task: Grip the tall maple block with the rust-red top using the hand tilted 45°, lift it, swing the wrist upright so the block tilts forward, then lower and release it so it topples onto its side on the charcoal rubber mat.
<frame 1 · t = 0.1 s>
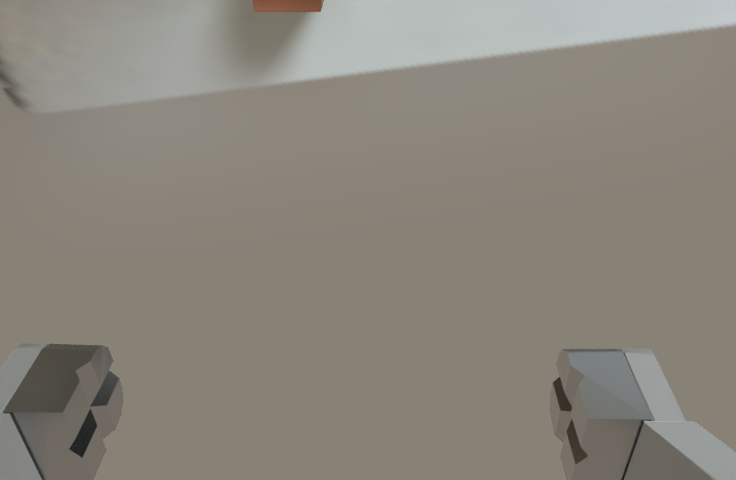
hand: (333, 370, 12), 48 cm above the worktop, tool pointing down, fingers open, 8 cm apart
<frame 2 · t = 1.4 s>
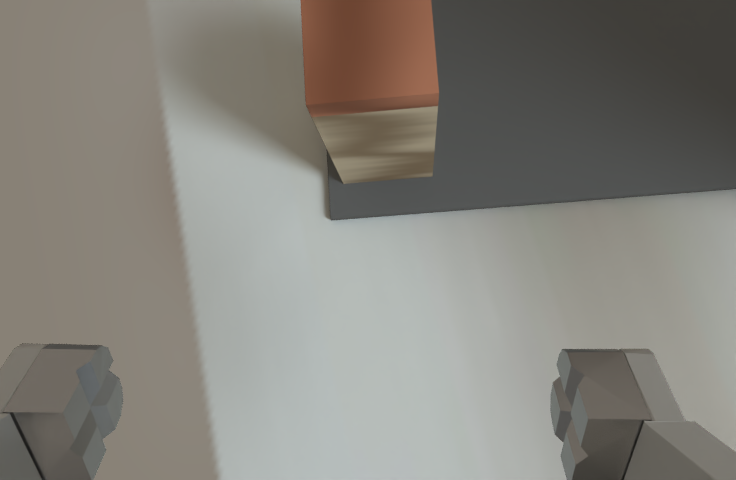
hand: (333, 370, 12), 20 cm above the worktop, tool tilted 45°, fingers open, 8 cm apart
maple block: (384, 137, 33), resting on charcoal mat
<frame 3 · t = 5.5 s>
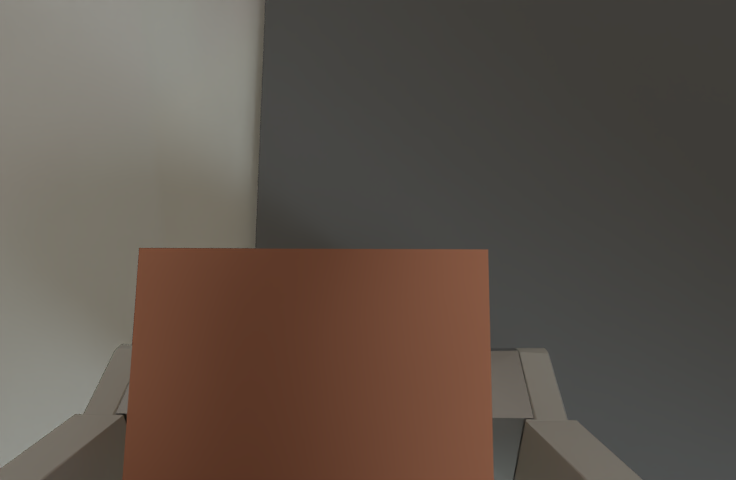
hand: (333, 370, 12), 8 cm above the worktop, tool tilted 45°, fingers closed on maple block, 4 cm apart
charcoal mat: (612, 160, 20), on the worktop
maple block: (352, 388, 19), resting on charcoal mat, touching gripper
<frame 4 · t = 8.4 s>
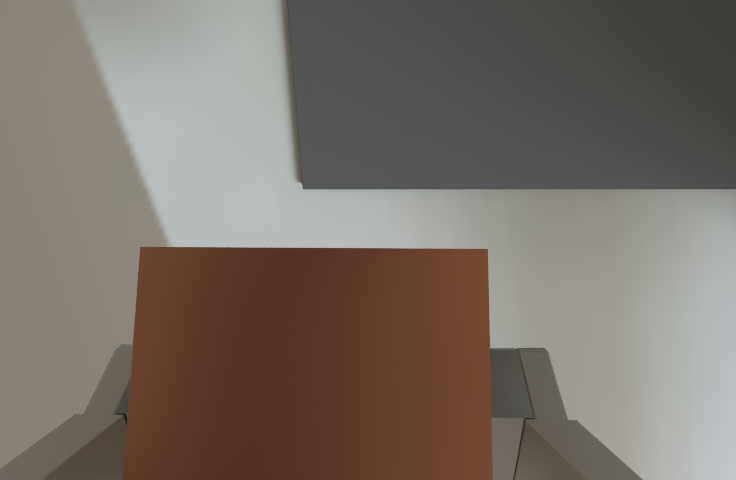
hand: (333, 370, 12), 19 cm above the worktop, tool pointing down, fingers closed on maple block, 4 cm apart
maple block: (353, 387, 19), point 14 cm above the worktop, tilted 45°, touching gripper
when the fingers open (7 cm above the worktop, at t = 11.2 s): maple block moves 2 cm and tips over, resting on charcoal mat.
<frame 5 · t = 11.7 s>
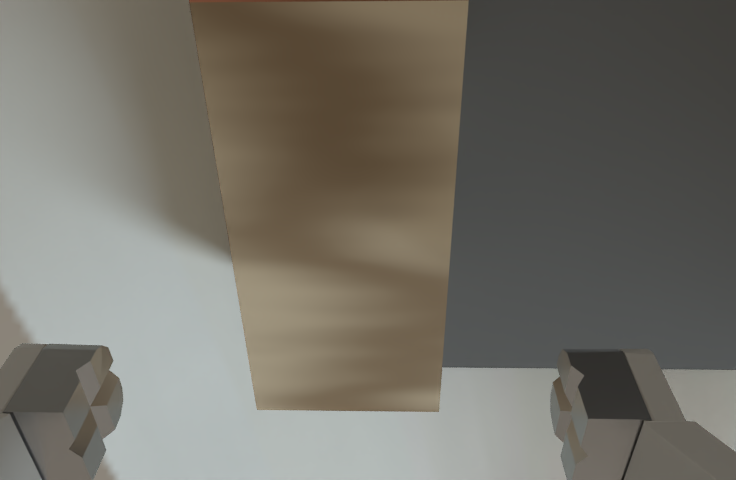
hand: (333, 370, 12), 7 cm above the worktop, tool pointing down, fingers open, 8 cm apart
charcoal mat: (684, 25, 15), on the worktop
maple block: (351, 346, 18), point 3 cm above the worktop, tilted 90°, touching charcoal mat
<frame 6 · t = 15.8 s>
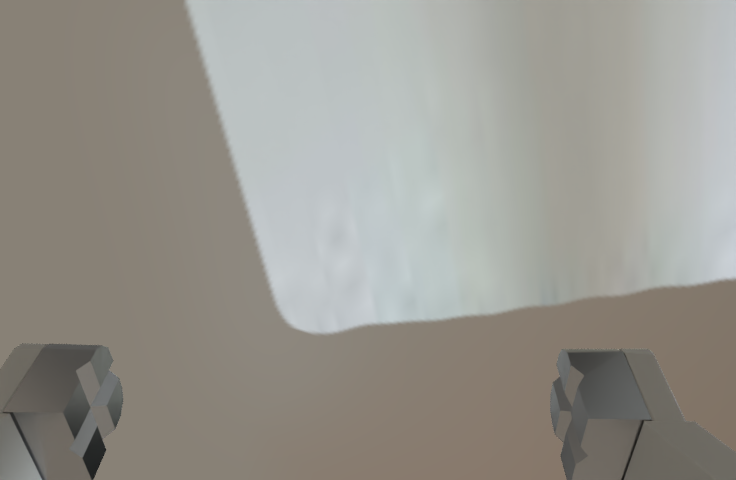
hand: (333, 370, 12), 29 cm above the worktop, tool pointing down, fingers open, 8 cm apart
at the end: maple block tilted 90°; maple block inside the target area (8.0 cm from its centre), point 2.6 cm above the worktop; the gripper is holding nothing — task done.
